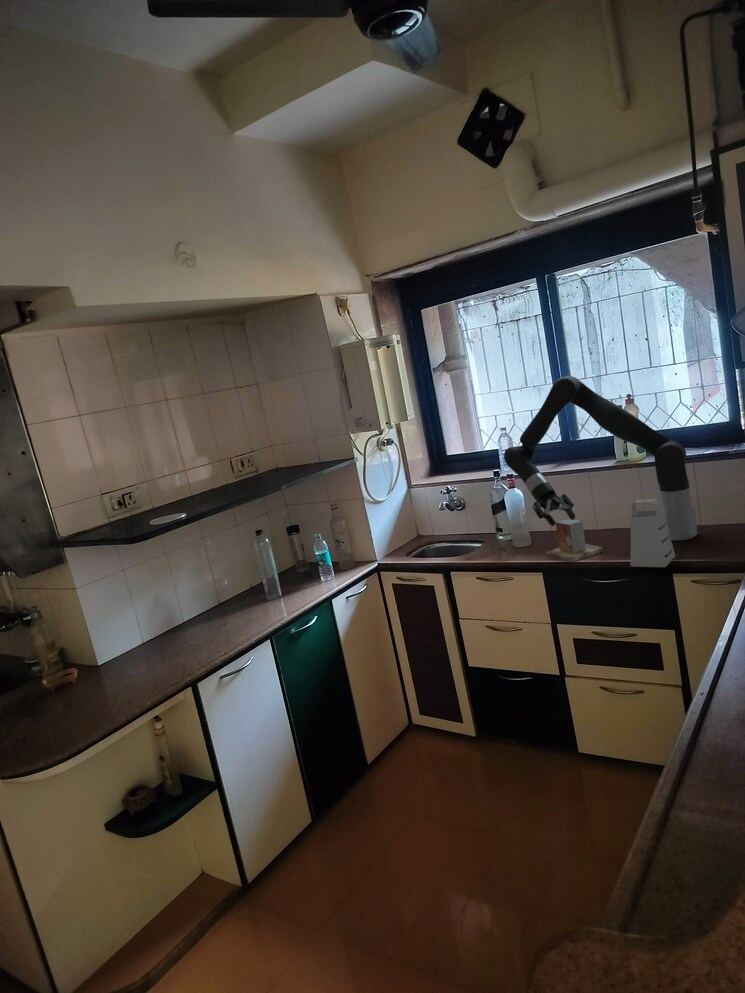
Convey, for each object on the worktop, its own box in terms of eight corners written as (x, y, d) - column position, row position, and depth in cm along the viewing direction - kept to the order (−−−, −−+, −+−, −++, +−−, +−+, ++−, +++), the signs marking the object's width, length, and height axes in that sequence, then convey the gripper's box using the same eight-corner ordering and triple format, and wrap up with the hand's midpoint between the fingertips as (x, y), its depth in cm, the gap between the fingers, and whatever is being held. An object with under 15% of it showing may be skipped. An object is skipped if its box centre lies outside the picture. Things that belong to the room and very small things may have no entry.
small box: (559, 550, 238) (554, 522, 236) (571, 546, 239) (567, 518, 238) (574, 553, 230) (569, 524, 229) (586, 549, 232) (582, 520, 230)
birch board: (577, 545, 244) (577, 542, 244) (603, 551, 231) (602, 547, 231) (546, 556, 239) (545, 552, 239) (570, 562, 226) (570, 558, 226)
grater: (642, 556, 218) (633, 497, 215) (675, 556, 211) (667, 495, 208) (630, 566, 210) (622, 505, 207) (665, 567, 203) (656, 504, 200)
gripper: (526, 486, 239) (550, 520, 231) (559, 477, 244) (584, 510, 235) (520, 499, 245) (544, 532, 236) (552, 490, 250) (576, 523, 241)
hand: (564, 521), depth 236 cm, fingers open, 8 cm apart
